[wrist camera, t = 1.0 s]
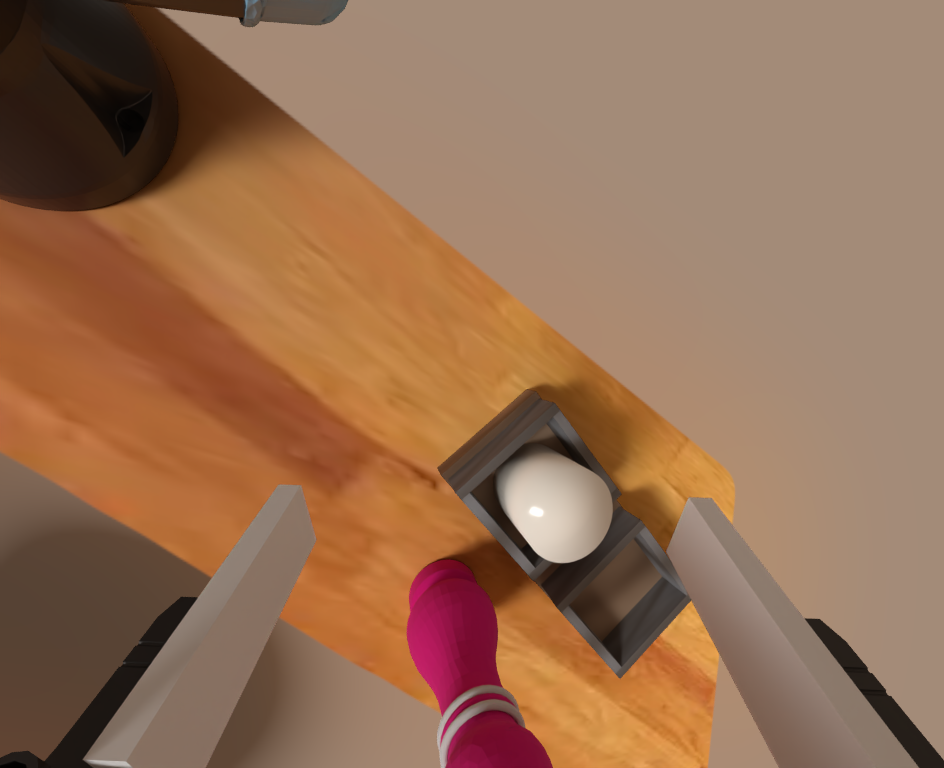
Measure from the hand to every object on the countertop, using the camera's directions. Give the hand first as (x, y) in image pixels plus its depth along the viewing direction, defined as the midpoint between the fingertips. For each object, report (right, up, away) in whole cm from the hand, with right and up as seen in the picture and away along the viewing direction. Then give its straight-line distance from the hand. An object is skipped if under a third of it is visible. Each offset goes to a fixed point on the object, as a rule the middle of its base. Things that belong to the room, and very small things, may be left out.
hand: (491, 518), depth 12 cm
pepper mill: (-3, -14, +20) cm, 25 cm away
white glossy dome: (+5, -4, +19) cm, 20 cm away
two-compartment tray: (+8, -9, +23) cm, 26 cm away
